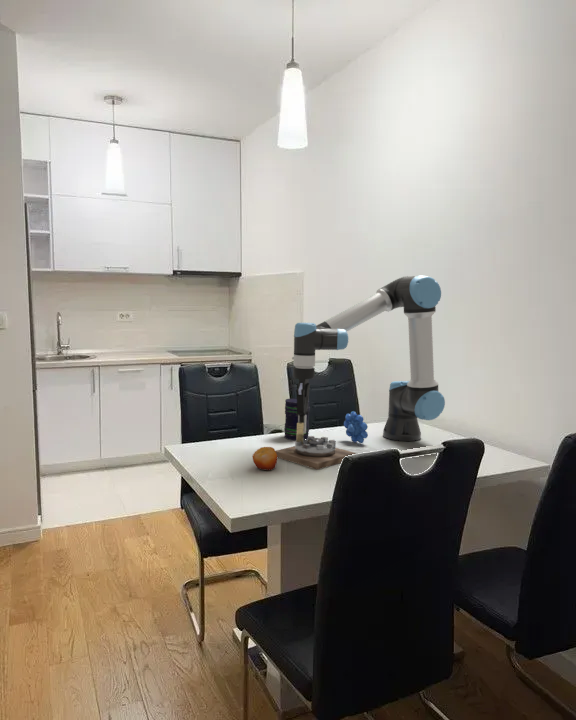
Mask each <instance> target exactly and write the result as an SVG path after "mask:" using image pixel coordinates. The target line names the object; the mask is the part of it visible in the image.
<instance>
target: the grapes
mask: <svg viewBox="0 0 576 720" xmlns="http://www.w3.org/2000/svg"><path fill="white" fill-rule="evenodd" d="M343 427H344V428H345V429H346V430H345V435H346V436H347V437H348V438H349V437H350V440H351V441H352V442H353V443H357V442H358V443H359V444H363V443H364V442H365V439H367V438H368V436H369V434H368V432H367V429H368V427H369V426H368V424H367V423H366V422H365V421H364V417H363V416H362V415H361V414H357V411H354V410H353V411H351V412H350V413H346V415H345V420H344V421H343Z"/></svg>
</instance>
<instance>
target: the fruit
mask: <svg viewBox="0 0 576 720" xmlns="http://www.w3.org/2000/svg"><path fill="white" fill-rule="evenodd" d="M251 457H252V461H253V463H254V466H255V467H256V468H257V469H259V470H262V471H273V470H274V469H276V466H277V463H278V458H277V453H276V450H275V448H274V447H272V446H263V447H260V448H258V449H256V451H254V452H253V454H252V456H251Z"/></svg>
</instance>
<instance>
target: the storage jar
mask: <svg viewBox="0 0 576 720" xmlns="http://www.w3.org/2000/svg"><path fill="white" fill-rule="evenodd" d="M310 402H311V401H310V399H309V400H308V411H307V412H309V414H306V415H307V417H306V433H305V434H304V435H303V438H304V440H305V439H306V440H307V439H308V436H309V434H310V423H309V419H310V417H309V416H310V410H311V407H310ZM284 405H285V406H284V414H285V423H284V429H283V430H284V439H286V440H289V441H296V439H297V422H298V415H296V413H297V397H295V398H294V397H293V398H292V397H290V398H286V399H285V403H284Z"/></svg>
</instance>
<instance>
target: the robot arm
mask: <svg viewBox="0 0 576 720" xmlns="http://www.w3.org/2000/svg"><path fill="white" fill-rule="evenodd" d="M441 298H442V290H441V287H440V284H439V282H438V281H436V279H435V278H433V277H432V276H430V275H429V276H427V275H412V276H408V275H407V276H402V277H399V278H396V279H395V280H393V281H391V282H389V283H387V284H385V285H384V286H383V287H380V288H378V289H377V290H376V292H375V294H372V295H370V296H369V297H367V298H365V299H363V300H361V301H360V302H357V303H356V304H354V305H352V306H350V307H348V308H346V309H345V310H342V311H341V312H339V313H338V314H335V315H334V316H331V317H330V318H328V319H326V320H325V321H322V322H321V323H318V324H316V323H314V322H297V323H296V324H295V325H294V332H293V356H292V357H291V359H292V360H293V367H292V377H293V378H294V379H297V380H298V383H296V390H295V391H296V398H297V413H296V415H298V422H303V423H304V434H305V433H306V417H307V415H306V414H309V415H310V413H309V412H310V411H309V412H307V411H308V400H310V399H309V396H310V389H311V388H310V387H311V383H310V382H309V380H312V379H314V378H315V371H316V370H315V369H316V368H315V366H316V350H317V351H322V350H324V351H339V350H340V351H342V350H345V349H347V347H348V344H349V334H348V332H349V331H351V330H352V329H353V330H354V329H355V328H356V327H358V326H360V325H361V324H363V323H365V322H367V321H370V320H371V319H373V318H374V317H377V316H378V315H380V314H382V313H383V312H388V313H389V312H391V311H393V310H396V309H398V308H399V309H400V308H403V314H404V315H405V316H406V317H407V318H408V320H407V321H408V346H409V347H408V348H409V367H410V369H409V370H410V371H409V373H410V380H396V381H391V382H390V384H389V389H388V392H389V395H388V415H387V419H386V422H385V425H384V426H383V427H384V428H383V430H382V431H383V432H382V436H383V437H384V438H386V439H389V440H392V441H398V440H399V441H400V442H415V440H416V441H420V440H421V439H422V431H421V428H420V424H419V421H418V419H419V420H422V421H423V420H424V421H433V420H436V419H437V418H438V417H440V415H441V414H442V413H443V411H444V408H445V405H446V399H445V397H444V395H443V394H442V393H441V392H439V382H438V381H436V379H435V377H434V374H435V373H434V372H435V371H434V346H433V345H434V344H433V343H434V341H433V322H432V321H433V318H432V316H433V315H434V314H435V313H436V311H437V310H436V306H437V305H438V304H439V302H440V301H441Z"/></svg>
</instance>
